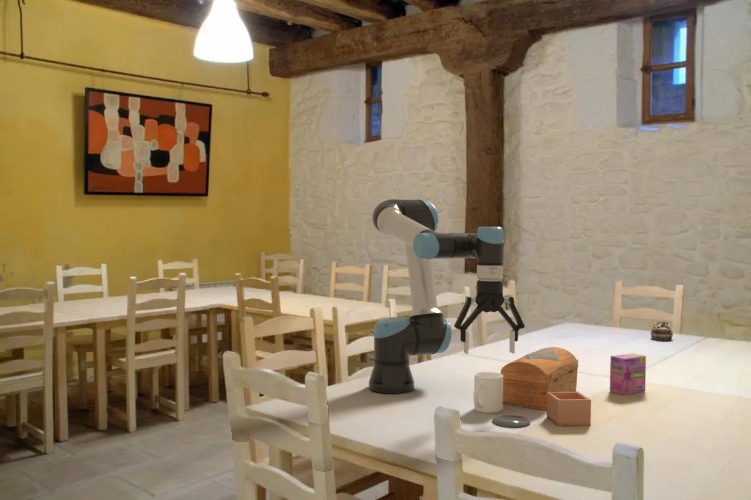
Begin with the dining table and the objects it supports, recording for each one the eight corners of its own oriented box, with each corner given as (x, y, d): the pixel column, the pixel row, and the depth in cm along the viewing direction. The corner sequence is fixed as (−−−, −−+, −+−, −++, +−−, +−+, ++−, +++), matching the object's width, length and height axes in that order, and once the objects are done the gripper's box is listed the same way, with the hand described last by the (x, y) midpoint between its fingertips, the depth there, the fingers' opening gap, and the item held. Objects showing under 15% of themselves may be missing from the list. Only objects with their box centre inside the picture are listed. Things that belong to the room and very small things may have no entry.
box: (623, 395, 218) (623, 358, 218) (609, 391, 223) (609, 355, 223) (646, 391, 223) (646, 355, 223) (632, 388, 228) (632, 352, 228)
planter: (558, 426, 184) (558, 400, 183) (546, 416, 193) (547, 392, 192) (590, 425, 184) (591, 399, 184) (577, 416, 193) (578, 391, 193)
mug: (486, 418, 191) (487, 381, 191) (461, 413, 196) (461, 377, 196) (508, 409, 200) (508, 374, 200) (483, 404, 206) (484, 370, 205)
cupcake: (646, 342, 321) (646, 320, 321) (665, 341, 322) (666, 320, 322) (656, 345, 312) (657, 323, 311) (676, 345, 313) (677, 323, 312)
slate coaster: (498, 428, 182) (498, 425, 182) (488, 417, 192) (488, 415, 192) (535, 427, 183) (535, 425, 183) (523, 416, 193) (523, 414, 193)
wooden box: (530, 384, 233) (531, 344, 233) (579, 391, 224) (579, 349, 224) (494, 403, 208) (495, 357, 208) (547, 411, 199) (548, 364, 199)
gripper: (449, 281, 194) (449, 355, 194) (536, 280, 196) (535, 354, 197) (444, 279, 201) (444, 350, 202) (527, 278, 203) (527, 350, 204)
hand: (489, 352), depth 199 cm, fingers open, 13 cm apart
